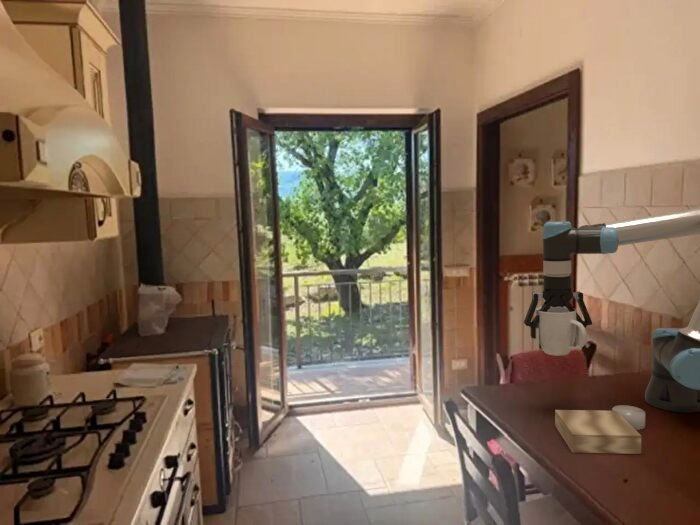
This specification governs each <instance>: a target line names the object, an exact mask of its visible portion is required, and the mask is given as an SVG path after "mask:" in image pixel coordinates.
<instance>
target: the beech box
mask: <svg viewBox="0 0 700 525" xmlns="http://www.w3.org/2000/svg"><path fill="white" fill-rule="evenodd" d="M554 415H555V416H554V421H555V422H554V426H555V428H556V429H557V431H558V433H559V434H560V435H561V437H562V439H563V440H564V441H565V443H566V445H567V446H568V448H569V450H570V451H571V453H578V454H579V453H589V454H596V453H597V454H623V455H624V454H625V455H626V454H629V455H642V435H641V434H640V433H639V432H638V430H635V429H634V428H633V427H632V426H631V425H630V424H629V423H628V422H627V421H626V420H625V419H624V418H623V417H622V416H621V415H620V414H619V413H618V412H617V411H612V410H603V409H602V410H600V409H599V410H598V409H594V410H593V409H591V410H590V409H589V410H588V409H586V410H585V409H583V410H582V409H581V410H580V409H572V410H571V409H554Z"/></svg>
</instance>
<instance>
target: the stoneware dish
mask: <svg viewBox="0 0 700 525" xmlns="http://www.w3.org/2000/svg"><path fill="white" fill-rule="evenodd" d="M611 411H617V412H618V413H619V414H620V415H621V416H622V417H623V418H624V419H625V420H626V421H627V422H628V423H629V424H630V425H631V426H632V427H633V428H634V429H635V430H636V431H641V430H643V429H645V428H646V411H645V410H643V409H642V408H639V407H637V406H632V405H628V404H627V405H625V404H619V405H618V404H617V405H615V406H612V409H611ZM640 429H641V430H640Z"/></svg>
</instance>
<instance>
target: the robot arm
mask: <svg viewBox="0 0 700 525" xmlns="http://www.w3.org/2000/svg"><path fill="white" fill-rule="evenodd" d="M542 229H543V231H542V251H543V252H542V257H543V263H542V264H543V265H542V266H543V267H542V270H543V272H542V273H543V274H544V275H543V279H542V280H543V282H542V283H543V285H542V286H543V289H542V292H541V293H540V292H537V293H536V292H535V291H534V292H532V293H531V302H530V305H529V307H528V310H527V312H526V315H525V318H524V320H523V324H524V325H525V326H526V327H529V328H530V337H531V339H533V344H534V345H533V348H534V349H535V351H539V350H540V342H539V328H538V327H537V325H538V323H539V322H540V315H536V314H535V313H536V309H537V308H538V307H537V306H538V303H539V301H541V298H542V299H544V302H543V304H542V305H541V306H540V307H541V309H540V310H539V311H541V312H547V310H549V309H550V307H566V308H567V309H568V310H569V312H573V311H575V309H576V308H574V307H573V305H572V304H571V303H570V301H571V299H572V298H573V297H574V299H575V300H576V302H577V305H578V308H579V310H580V312H581V315H582V317H581V316H580V314H578V312H577V311H576V320H577V321H578V322H580V323H581V324H582V325H583V326H584V328H585V329H586V328H587V326H591V325H593V321H592V319H591V317H590V313H589V311H588V308H587V306H586V303H585V301H584V293H583V292H581V291H580V290H579V291H575V292H574V291H572V276H571V274H572V255H597V254H599V255H607V254H615V253H616V252H617V251H618V248H619V246H627V245H633V244H641V243H646V242H653V241H661V240H669V239H674V238H675V239H676V238H682V237H687V236H688V237H689V236H696V235H700V204H699V205H698V207H695V208H690V209H684V210H677V211H671V212H664V213H659V214H658V213H656V214H653V215H652V214H651V215H647V216H639V217H633V218H626V219H621V220H615V221H608V222H603V223H598V224H590V225H589V224H585V225H580V226H579V227H572V223H571V222H570V221H548V222H546V223H544V225H543V228H542ZM534 314H535V316H534ZM533 316H534V317H533ZM582 318H583V319H582ZM576 326H577V325H576ZM581 341H582V335H581V331H580V329H579V327H578V326H577V327H576V337H575V343H576V344H575V346H578V345H580V343H581ZM651 341H652V347H651V348H652V349H651V350H652V351H651V354H652V355H651V377H650V380H649V381H648V385H647V387H646V389H645V392H644V401H645V402H646V403H647V404H648V405H650V406H652V407H654V408H658V409H660V410H663V411H669V412H676V413H687V414H689V413H698V412H700V299H699V300H698V303H697V305H696V307H695V309H694V311H693V314H692V316H691V318H690V320H689V323H688V325H687V326H686V327H681V328H679V327H678V328H677V327H659V328H656V329H654V330H653V331H652V337H651ZM582 349H583V347H582V348H580V349H578V351H582Z"/></svg>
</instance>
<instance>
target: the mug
mask: <svg viewBox="0 0 700 525" xmlns="http://www.w3.org/2000/svg"><path fill="white" fill-rule="evenodd" d="M541 307H542V306H540V307H536V309H535V316H536V315H540V322H539V323H538V325H537V327H538V328H539V346H540V347H541V350H543V352H544V353H545V354H547V355H550V356H557V357H558V356H559V357H561V356H567V355H569V354H570V353H571V351H572V350H579V349H580V348H582V349H583V347H584V346H585V345H586V343H587V339H588V334H587V331H586V328H584V326H583V325H582V324H581V323H580V322H578V321H577V320H576V312H577V309H576V308H574V309H575V311H573V312H569V310H568V309H567V308H566V306H564V307H550V309H549V310H547V312H541V311H539V310H540V309H541ZM577 326H578V327H579V329H580V331H581V335H582V341H581V343H580V345H578V346H576V345H574V344H575V343H576V327H577Z"/></svg>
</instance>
